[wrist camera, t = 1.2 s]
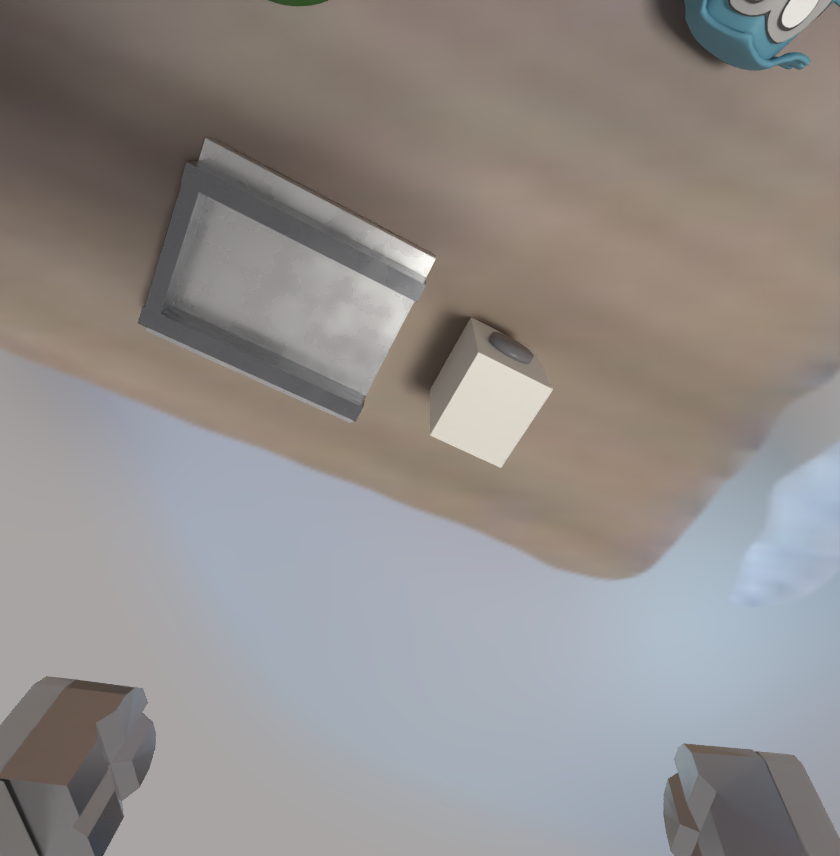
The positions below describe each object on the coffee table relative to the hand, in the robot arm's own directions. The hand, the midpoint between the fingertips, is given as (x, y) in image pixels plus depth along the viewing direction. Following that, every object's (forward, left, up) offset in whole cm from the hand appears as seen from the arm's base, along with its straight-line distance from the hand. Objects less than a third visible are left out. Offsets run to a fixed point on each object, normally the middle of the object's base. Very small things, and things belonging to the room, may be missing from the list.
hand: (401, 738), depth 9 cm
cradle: (-7, -5, -33) cm, 34 cm away
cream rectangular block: (+7, -4, -33) cm, 34 cm away
